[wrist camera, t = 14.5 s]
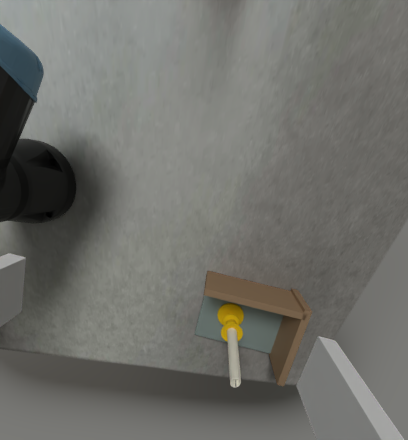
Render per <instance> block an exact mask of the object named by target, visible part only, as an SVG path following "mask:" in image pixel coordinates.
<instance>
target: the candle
mask: <svg viewBox="0 0 408 440" xmlns="http://www.w3.org/2000/svg"><path fill="white" fill-rule="evenodd" d="M217 316H218V320H219V322H220V323H221V324H222V325H224V326H223V328H222V329H221V336H222V338H223V339H224V340H225V341H227V342H228V358H229V375H230V385H231V386H232V387H234V388H236V387H238V386H239V385H240V384H241V373H240V361H239V351H238V341H239V340H240V339H241V338H242V336H243V331H242V328H241V327H240V326H239V325H240V324H241V323H242V321H243V319H244V313H243V310H242V309H241V307H240V306H238V305H237V304H234V303H227V304H224V305H222V306H221V307H220V308H219V310H218V314H217Z"/></svg>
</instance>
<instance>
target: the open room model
mask: <svg viewBox="0 0 408 440" xmlns="http://www.w3.org/2000/svg"><path fill="white" fill-rule="evenodd" d="M227 303H234V304H237V305H238V306H240V307H241V309H242V310H243V313H244V319H243V321H242V323H241V324H240V325H239V326H240V327H241V328H242V331H243V336H242V338H241V339H240V340H239V341H238V346H242V347H246V348H250V349H254V350H258V351H262V352H266V353H269V356H270V360H271V364H272V368H273V371H274V375H275V379H276V382H277V385H280V386H284V384H285V382H286V379H287V377H288V374H289V371H290V369H291V366H292V364H293V361H294V358H295V356H296V353H297V351H298V348H299V345H300V343H301V340H302V337H303V335H304V332H305V330H306V327H307V324H308V322H309V319H310V317H311V314H312V311H311V309H310V308H309V306H308V305H307V303H306V302H305V300H304V299H303V297H302V296H301V294H300V293H299V291H298V290H296V289H291V291H288V290H284V289H280V288H276V287H272V286H268V285H264V284H259V283H255V282H251V281H247V280H243V279H239V278H235V277H231V276H227V275H223V274H219V273H215V272H211V271H207V275H206V282H205V290H204V299H203V303H202V307H201V311H200V315H199V319H198V323H197V326H196V330H195V335H199V336H203V337H207V338H211V339H214V340H218V341H222V342H226V343H228V342H227V341H225V340H224V339H223V338H222V336H221V329H222V328H223V326H224V325H222V324H221V323H220V322H219V320H218V316H217V314H218V310H219V308H220V307H221V306H222V305H224V304H227Z"/></svg>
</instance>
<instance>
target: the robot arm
mask: <svg viewBox="0 0 408 440" xmlns="http://www.w3.org/2000/svg"><path fill="white" fill-rule="evenodd" d="M43 74H44V71H43V66H42V63H41V61H40V60H39V58H38V57H37V56H36V54H35V53H34V52H33V51H32V50H30V49H29V48H28V47H27V46H26V45H25V44H24V43H22V42H21V41H20V40H19V39H18V38H17V37H15V36H14V35H13V34H12V33H11V32H9V31H8V30H7V29H6V28H4V27H3V26H2V25H1V24H0V222H3V221H17V222H26V223H42V222H46V221H50V220H54V219H56V218H59V217H60V216H62V215H63V214H64V213H66V212H67V210H68V209H69V208H70V206H71V205H72V203H73V200H74V197H75V191H76V183H75V177H74V173H73V171H72V168H71V166H70V164H69V163H68V161H67V160H66V158H65V157H64V156H63V155H62V154H61V153H60V152H59V151H58V150H57V149H55V148H54V147H53V146H51V145H49V144H47V143H44V142H41V141H36V140H31V139H19V138H20V136H21V133H22V131H23V129H24V126H25V124H26V121H27V119H28V117H29V114H30V112H31V110H32V107H33V105H34V103H36V102H37V97H36V96H37V93H38V90H39V87H40V84H41V81H42V78H43ZM25 266H26V258H25V257H22V256H18V255H14V254H10V253H9V254H6V255H3V256H1V257H0V327H1V326H2V325H4V324H5V323H7V322H8V321H9V320H11V319H12V318H14V317H15V316H16V315H18V314H19V313H21V312H22V302H23V290H24V278H25ZM297 389H298V391H299V394H300V396H301V399H302V402H303V405H304V408H305V410H306V413H307V416H308V419H309V421H310V424H311V427H312V429H313V432H314V435H315V438H316V440H404V439H403V437H402V436H401V434H400V433H399V432H398V430H397V429H396V427H395V426H394V424H393V423H392V421H391V420H390V419H389V417H388V416H387V414H386V413H385V411H384V410H383V408H382V407H381V406H380V404H379V403H378V401H377V400H376V398H375V397H374V395H373V394H372V393H371V391H370V390H369V388H368V387H367V386H366V384H365V383H364V381H363V380H362V378H361V377H360V375H359V374H358V372H357V371H356V370H355V368H354V367H353V365H352V364H351V362H350V361H349V360H348V358H347V357H346V355H345V354H344V352H343V351H342V350H341V348H340V347H339V345H338V344H337V342H336V341H335V340H331V339H327V338H323V337H320V336H318V338H317V340H316V342H315V345H314V347H313V349H312V352H311V354H310V356H309V358H308V361H307V363H306V365H305V368H304V370H303V372H302V375H301V377H300V379H299V381H298V384H297Z"/></svg>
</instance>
